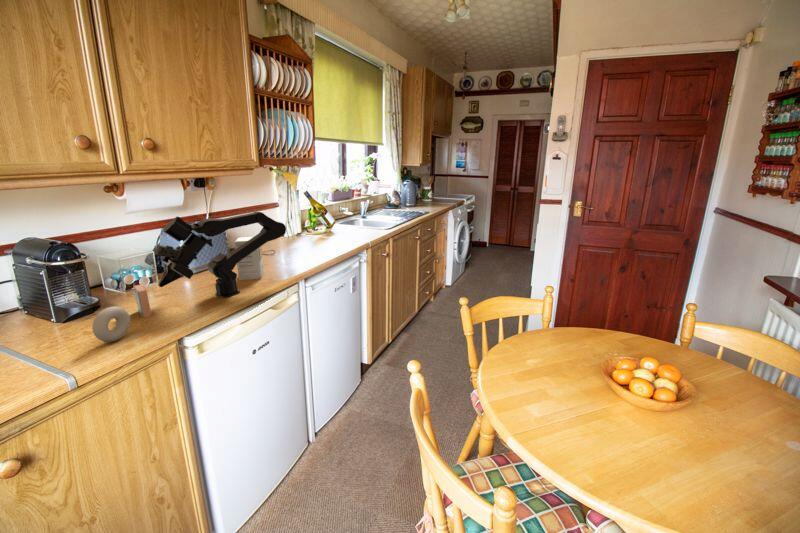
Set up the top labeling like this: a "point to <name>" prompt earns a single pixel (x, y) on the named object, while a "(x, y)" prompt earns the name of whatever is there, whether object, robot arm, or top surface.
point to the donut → (104, 318)
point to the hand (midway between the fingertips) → (159, 286)
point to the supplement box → (249, 262)
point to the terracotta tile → (142, 301)
